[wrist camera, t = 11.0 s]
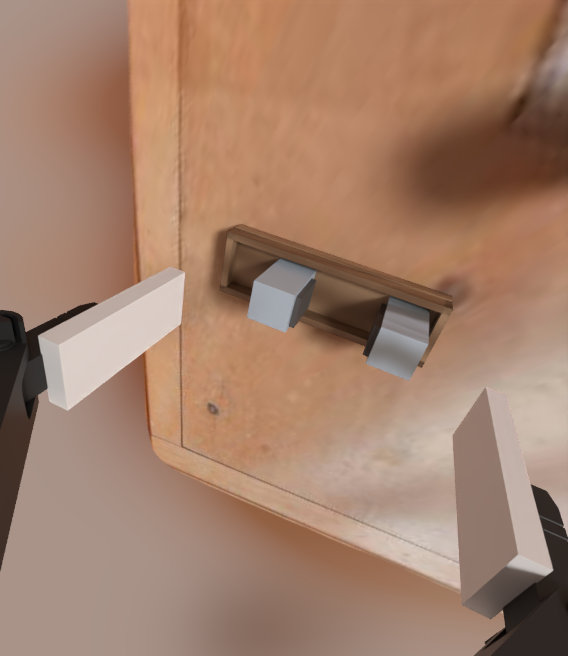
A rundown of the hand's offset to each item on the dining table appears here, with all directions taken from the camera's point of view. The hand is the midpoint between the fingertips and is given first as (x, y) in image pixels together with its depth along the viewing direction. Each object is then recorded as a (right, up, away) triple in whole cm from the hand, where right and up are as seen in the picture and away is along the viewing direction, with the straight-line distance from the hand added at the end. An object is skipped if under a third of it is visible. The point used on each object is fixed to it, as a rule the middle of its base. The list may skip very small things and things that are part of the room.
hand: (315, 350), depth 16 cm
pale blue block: (0, +7, +29) cm, 30 cm away
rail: (+4, +6, +30) cm, 30 cm away
